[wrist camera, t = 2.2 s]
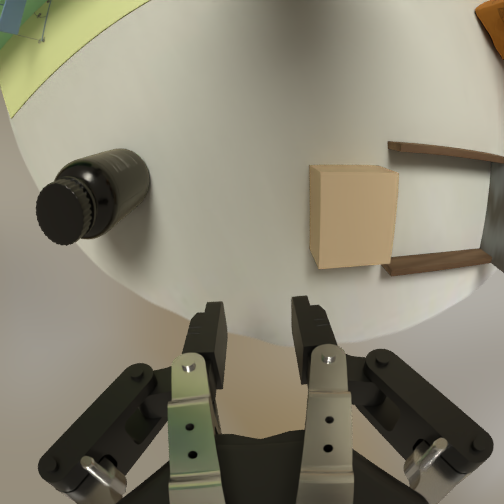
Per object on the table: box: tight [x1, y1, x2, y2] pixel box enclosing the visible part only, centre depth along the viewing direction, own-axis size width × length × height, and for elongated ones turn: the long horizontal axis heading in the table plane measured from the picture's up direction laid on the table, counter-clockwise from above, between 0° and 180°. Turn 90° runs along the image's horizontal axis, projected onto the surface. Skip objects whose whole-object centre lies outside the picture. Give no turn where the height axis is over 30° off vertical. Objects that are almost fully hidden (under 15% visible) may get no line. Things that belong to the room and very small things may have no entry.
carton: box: [309, 165, 399, 269], centre depth 27 cm, size 9×8×5 cm
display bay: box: [381, 141, 504, 276], centre depth 23 cm, size 14×18×12 cm
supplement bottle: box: [36, 149, 149, 246], centre depth 22 cm, size 7×7×12 cm
